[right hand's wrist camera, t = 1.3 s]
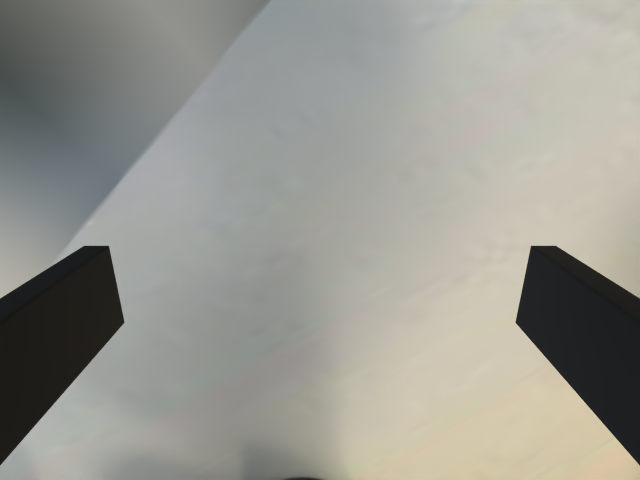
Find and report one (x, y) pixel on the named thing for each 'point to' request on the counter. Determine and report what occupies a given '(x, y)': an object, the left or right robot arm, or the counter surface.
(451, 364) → the counter surface
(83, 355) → the right robot arm
